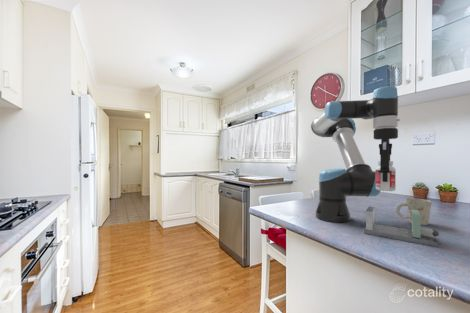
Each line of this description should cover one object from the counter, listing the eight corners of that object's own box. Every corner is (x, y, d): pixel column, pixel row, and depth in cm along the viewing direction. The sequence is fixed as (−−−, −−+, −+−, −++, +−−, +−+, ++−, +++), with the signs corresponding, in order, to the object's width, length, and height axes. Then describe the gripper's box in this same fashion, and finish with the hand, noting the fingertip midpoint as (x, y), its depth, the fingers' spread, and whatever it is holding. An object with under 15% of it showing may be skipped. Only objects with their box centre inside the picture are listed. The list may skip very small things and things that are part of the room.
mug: (436, 226, 87) (436, 202, 87) (402, 224, 90) (402, 201, 90) (423, 220, 95) (423, 198, 95) (392, 219, 98) (391, 197, 98)
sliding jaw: (412, 236, 71) (412, 214, 72) (411, 229, 79) (411, 209, 79) (440, 241, 67) (440, 218, 67) (437, 233, 74) (436, 212, 74)
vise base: (364, 233, 80) (364, 211, 80) (367, 226, 88) (367, 206, 88) (437, 246, 67) (436, 220, 67) (433, 237, 75) (433, 213, 75)
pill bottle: (394, 192, 76) (394, 161, 76) (374, 190, 80) (374, 161, 79) (396, 189, 80) (395, 161, 80) (376, 188, 84) (376, 160, 84)
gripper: (397, 124, 70) (397, 194, 70) (398, 130, 85) (398, 187, 85) (370, 126, 75) (371, 191, 75) (375, 131, 90) (376, 185, 90)
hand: (385, 189), depth 80 cm, fingers closed on pill bottle, 6 cm apart
